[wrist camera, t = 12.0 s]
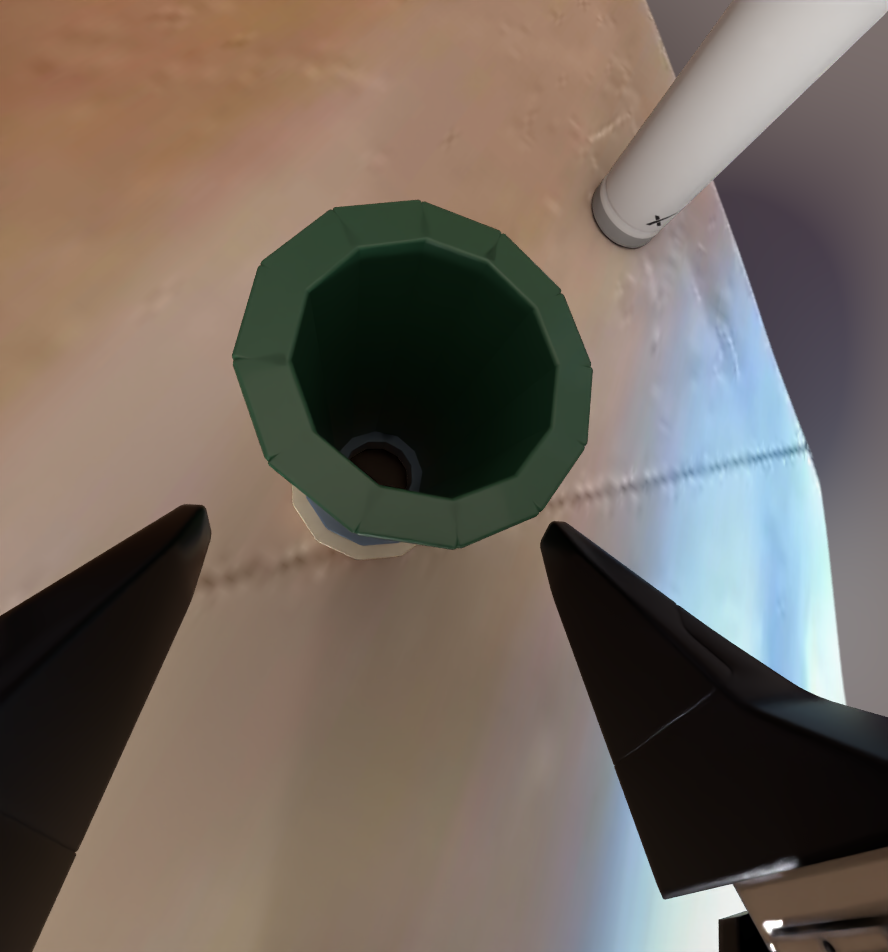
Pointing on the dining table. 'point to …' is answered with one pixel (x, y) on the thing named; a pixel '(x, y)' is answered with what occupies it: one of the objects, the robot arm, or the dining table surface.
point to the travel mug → (724, 105)
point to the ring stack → (337, 534)
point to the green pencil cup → (414, 371)
